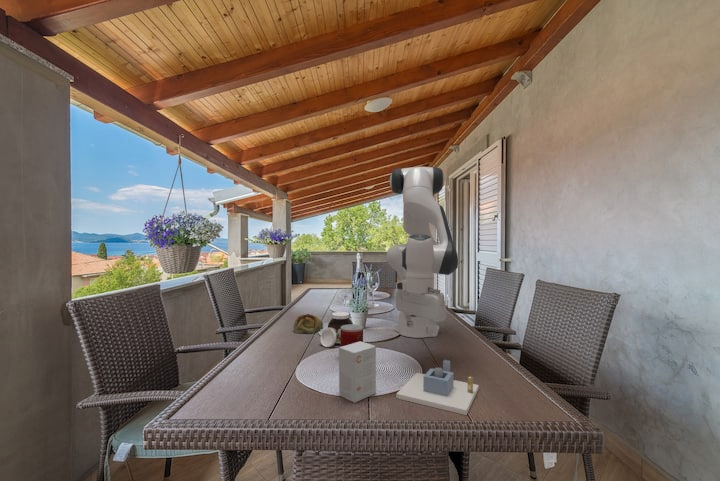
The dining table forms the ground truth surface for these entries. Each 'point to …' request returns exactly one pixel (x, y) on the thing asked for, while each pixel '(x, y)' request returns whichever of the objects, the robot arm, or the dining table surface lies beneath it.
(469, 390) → the dowel
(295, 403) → the dining table surface
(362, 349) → the small box
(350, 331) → the canned food
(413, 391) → the post board
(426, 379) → the grey socket with handle
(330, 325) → the spread jar
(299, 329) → the pastry
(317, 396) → the dining table surface
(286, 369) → the dining table surface
